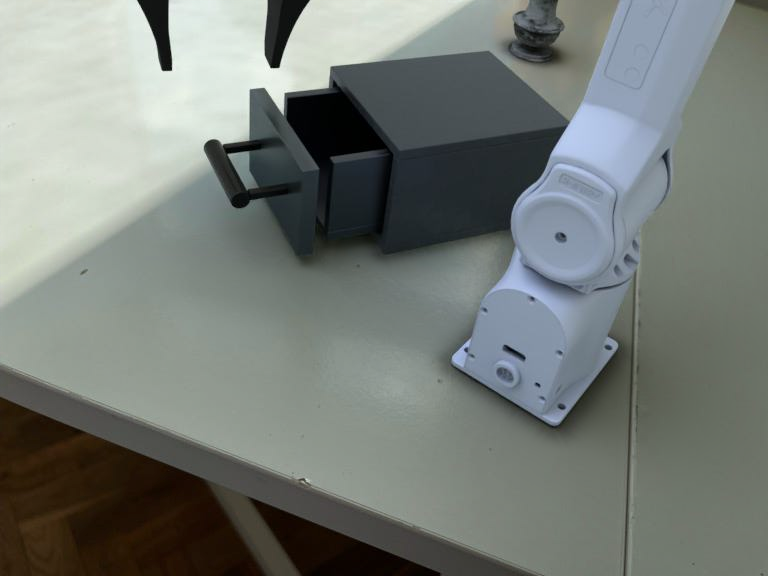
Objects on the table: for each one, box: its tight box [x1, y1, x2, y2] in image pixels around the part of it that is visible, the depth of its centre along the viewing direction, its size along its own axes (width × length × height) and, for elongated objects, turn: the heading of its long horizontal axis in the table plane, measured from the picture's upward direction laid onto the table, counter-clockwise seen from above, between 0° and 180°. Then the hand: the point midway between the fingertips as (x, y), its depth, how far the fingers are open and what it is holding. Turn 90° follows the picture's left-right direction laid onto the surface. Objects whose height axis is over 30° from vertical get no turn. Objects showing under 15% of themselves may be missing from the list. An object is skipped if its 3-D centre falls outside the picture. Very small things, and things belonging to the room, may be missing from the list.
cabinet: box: [328, 50, 571, 255], centre depth 63 cm, size 15×13×9 cm
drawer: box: [203, 87, 394, 257], centre depth 59 cm, size 18×11×7 cm, turn 115°
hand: (219, 63), depth 57 cm, fingers open, 7 cm apart
